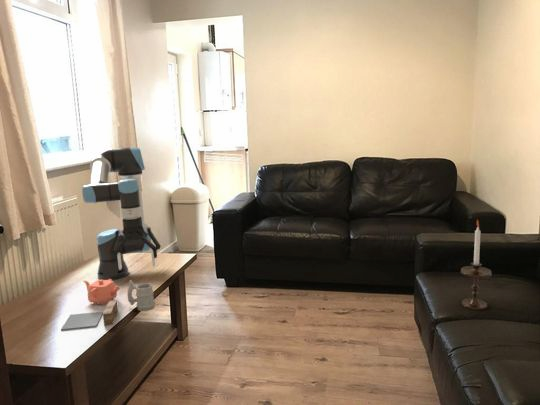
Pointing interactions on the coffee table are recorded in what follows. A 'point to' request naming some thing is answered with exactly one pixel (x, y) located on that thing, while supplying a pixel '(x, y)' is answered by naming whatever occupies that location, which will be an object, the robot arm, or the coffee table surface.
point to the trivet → (82, 321)
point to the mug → (142, 296)
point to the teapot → (101, 291)
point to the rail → (110, 313)
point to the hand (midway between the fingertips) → (137, 267)
